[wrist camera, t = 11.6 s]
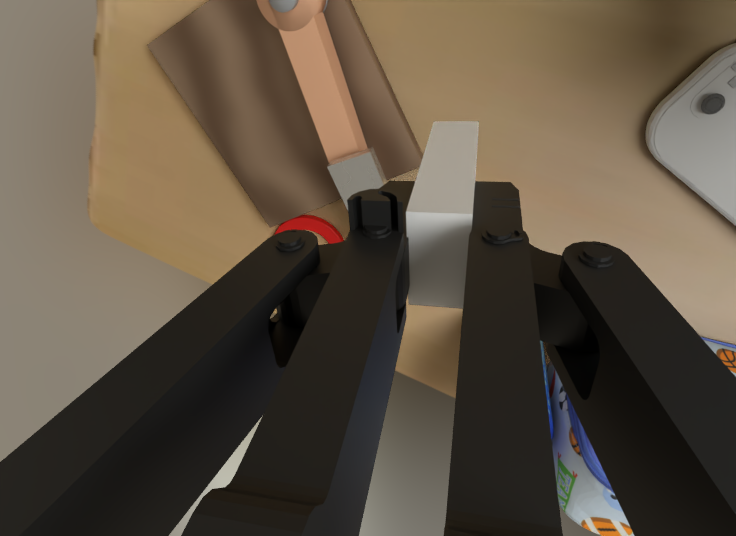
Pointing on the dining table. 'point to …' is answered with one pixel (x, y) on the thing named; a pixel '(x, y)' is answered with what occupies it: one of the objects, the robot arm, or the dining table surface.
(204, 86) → the pintle plate
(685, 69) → the dining table surface
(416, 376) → the dining table surface
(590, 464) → the lunch box
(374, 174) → the keeper
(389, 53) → the dining table surface
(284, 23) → the link
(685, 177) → the handheld gaming console
